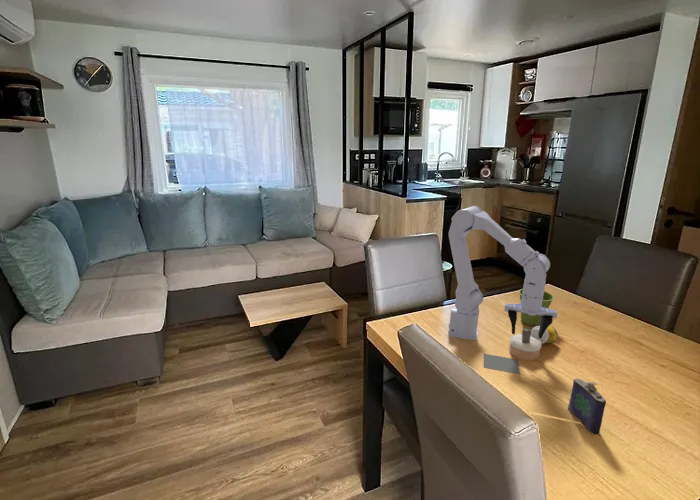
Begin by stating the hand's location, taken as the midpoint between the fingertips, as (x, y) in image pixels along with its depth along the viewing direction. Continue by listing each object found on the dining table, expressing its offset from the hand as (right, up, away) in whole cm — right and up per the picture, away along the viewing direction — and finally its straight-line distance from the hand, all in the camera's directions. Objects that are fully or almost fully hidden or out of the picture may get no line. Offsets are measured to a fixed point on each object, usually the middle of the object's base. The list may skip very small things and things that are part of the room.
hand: (526, 334), depth 119 cm
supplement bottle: (+12, -2, +9) cm, 15 cm away
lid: (0, -3, 0) cm, 3 cm away
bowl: (0, -6, +2) cm, 7 cm away
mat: (-10, -8, -4) cm, 13 cm away
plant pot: (+13, -1, +23) cm, 26 cm away
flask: (+1, -15, -27) cm, 31 cm away
